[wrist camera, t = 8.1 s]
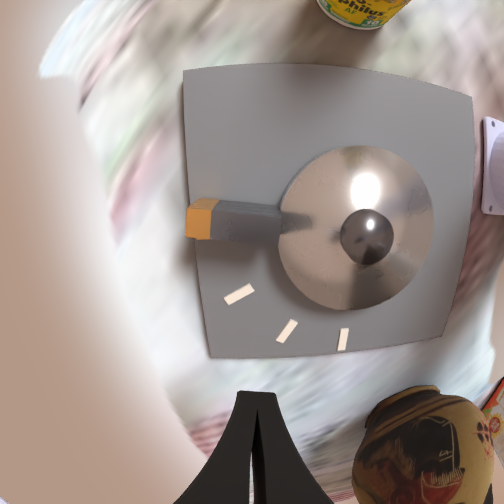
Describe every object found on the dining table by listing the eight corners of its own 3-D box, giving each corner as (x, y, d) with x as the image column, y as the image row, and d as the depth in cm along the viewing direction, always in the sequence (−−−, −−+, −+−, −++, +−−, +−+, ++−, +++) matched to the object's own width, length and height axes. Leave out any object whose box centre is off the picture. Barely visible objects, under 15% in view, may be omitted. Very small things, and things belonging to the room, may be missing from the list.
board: (464, 98, 13) (473, 96, 12) (436, 330, 20) (442, 337, 19) (187, 74, 14) (182, 69, 13) (212, 349, 21) (210, 359, 20)
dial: (433, 165, 15) (462, 170, 12) (399, 302, 18) (418, 325, 15) (206, 125, 14) (193, 118, 11) (196, 285, 18) (185, 310, 15)
